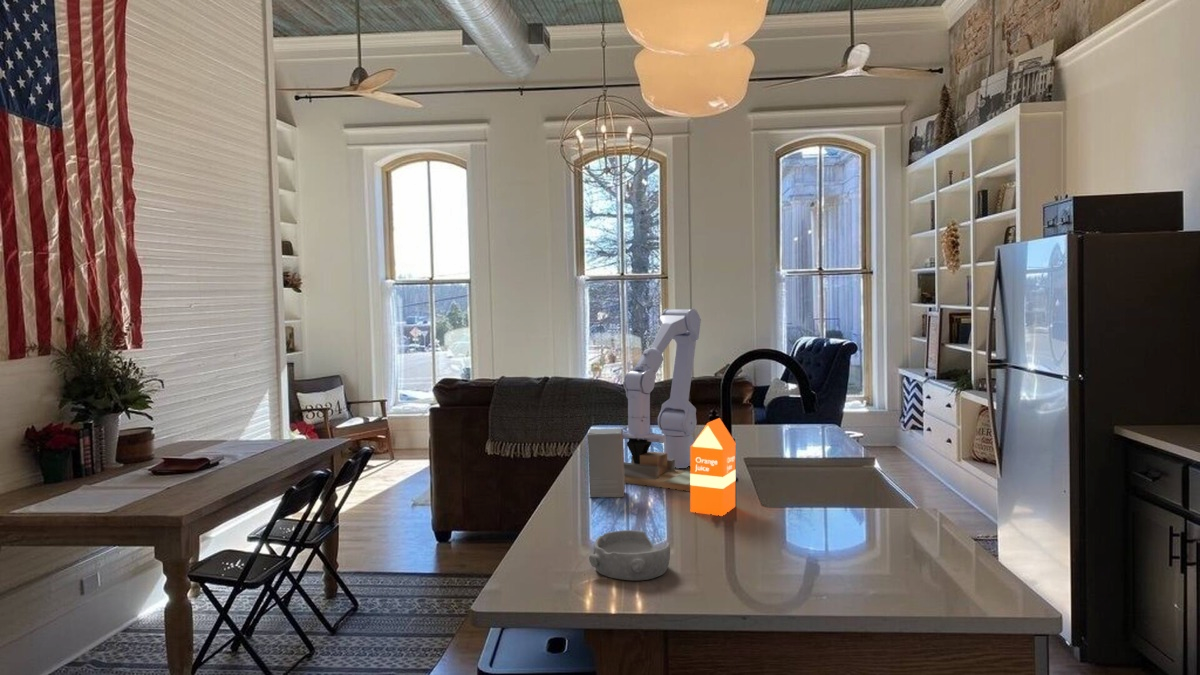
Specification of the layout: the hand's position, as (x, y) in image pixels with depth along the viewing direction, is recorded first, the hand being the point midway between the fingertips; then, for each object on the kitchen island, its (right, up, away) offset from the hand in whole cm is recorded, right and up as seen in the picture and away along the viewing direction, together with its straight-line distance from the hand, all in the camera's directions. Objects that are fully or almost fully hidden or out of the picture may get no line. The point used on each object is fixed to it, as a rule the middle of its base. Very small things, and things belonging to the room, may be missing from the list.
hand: (639, 467), depth 206 cm
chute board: (+5, -3, -3) cm, 6 cm away
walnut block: (+4, -1, -2) cm, 4 cm away
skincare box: (-9, -4, -18) cm, 20 cm away
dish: (-5, -7, -69) cm, 69 cm away
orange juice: (+15, -4, -31) cm, 34 cm away
